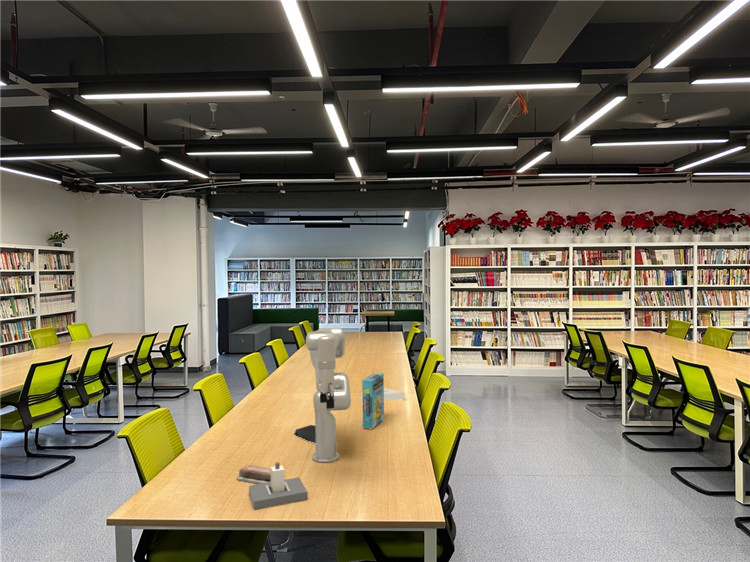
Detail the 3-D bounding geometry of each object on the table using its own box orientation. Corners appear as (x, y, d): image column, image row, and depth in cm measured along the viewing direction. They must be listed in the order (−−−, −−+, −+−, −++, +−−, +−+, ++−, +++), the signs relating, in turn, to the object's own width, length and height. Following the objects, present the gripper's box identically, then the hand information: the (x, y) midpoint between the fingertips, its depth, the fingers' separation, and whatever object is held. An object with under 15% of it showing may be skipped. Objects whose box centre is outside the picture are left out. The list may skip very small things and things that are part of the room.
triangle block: (404, 401, 320) (404, 392, 320) (377, 410, 301) (377, 400, 301) (372, 394, 340) (371, 385, 340) (345, 401, 322) (345, 392, 321)
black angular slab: (312, 430, 263) (311, 423, 263) (335, 438, 249) (335, 431, 249) (292, 436, 253) (292, 428, 253) (315, 445, 240) (315, 437, 240)
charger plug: (271, 495, 186) (270, 462, 186) (282, 492, 188) (281, 460, 187) (273, 500, 182) (272, 466, 182) (284, 497, 184) (284, 464, 183)
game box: (373, 430, 261) (372, 380, 261) (362, 428, 263) (361, 380, 263) (384, 419, 281) (384, 373, 280) (374, 418, 283) (373, 372, 282)
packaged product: (235, 470, 199) (249, 461, 208) (235, 481, 199) (250, 472, 209) (272, 476, 193) (285, 467, 202) (272, 488, 193) (285, 478, 202)
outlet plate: (249, 493, 188) (248, 485, 187) (299, 484, 195) (299, 476, 195) (254, 509, 175) (253, 500, 174) (307, 499, 182) (307, 490, 182)
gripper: (312, 362, 208) (313, 401, 209) (323, 369, 192) (324, 411, 193) (329, 360, 211) (329, 399, 211) (341, 368, 195) (341, 409, 195)
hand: (327, 405), depth 202 cm, fingers open, 9 cm apart
